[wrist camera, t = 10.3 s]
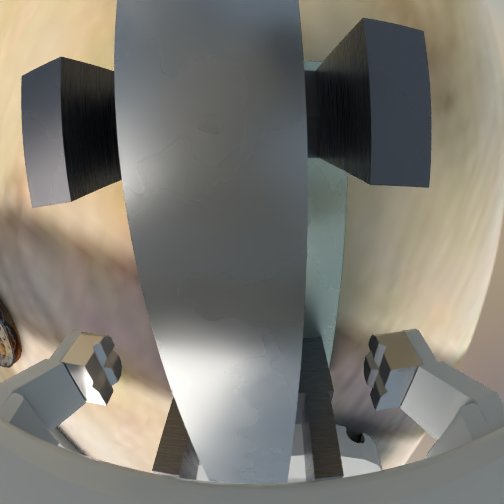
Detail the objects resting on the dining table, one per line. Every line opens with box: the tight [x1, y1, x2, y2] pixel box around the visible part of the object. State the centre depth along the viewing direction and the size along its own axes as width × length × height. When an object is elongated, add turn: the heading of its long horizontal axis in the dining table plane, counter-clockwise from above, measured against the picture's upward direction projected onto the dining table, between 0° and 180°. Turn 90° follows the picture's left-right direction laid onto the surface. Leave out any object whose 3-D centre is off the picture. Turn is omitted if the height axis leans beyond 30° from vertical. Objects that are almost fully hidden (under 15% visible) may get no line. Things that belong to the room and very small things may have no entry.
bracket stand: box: [21, 18, 431, 482], centre depth 12 cm, size 20×10×10 cm, turn 3°
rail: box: [114, 0, 308, 484], centre depth 9 cm, size 20×4×4 cm, turn 3°
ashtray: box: [196, 424, 382, 483], centre depth 26 cm, size 23×23×4 cm
